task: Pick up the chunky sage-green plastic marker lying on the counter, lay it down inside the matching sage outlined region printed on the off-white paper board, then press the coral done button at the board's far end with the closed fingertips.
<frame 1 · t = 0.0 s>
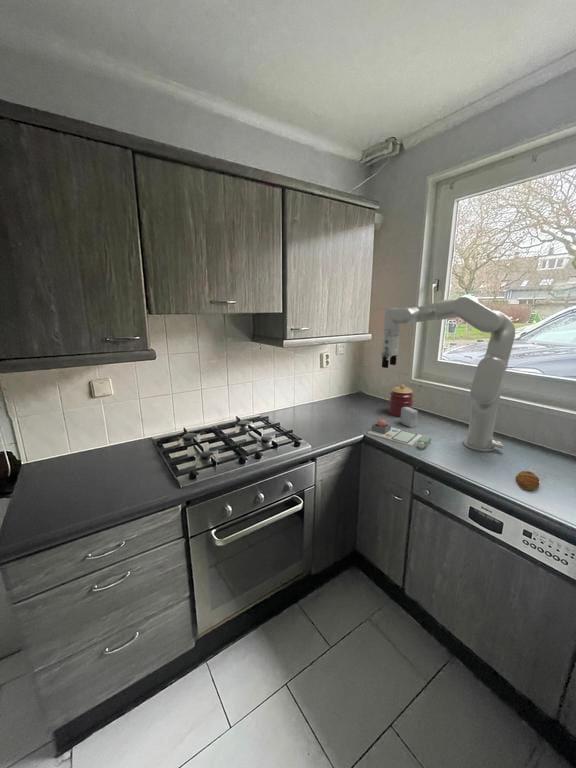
hand: (388, 366, 165), 31 cm above the worktop, fingers open, 9 cm apart
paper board: (394, 435, 156), on the worktop
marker: (424, 445, 145), on the worktop
done button: (381, 423, 160), point 4 cm above the worktop, slide at 0.0 cm
pastry: (527, 485, 114), on the worktop
canister: (400, 413, 186), on the worktop
medicine box: (408, 424, 169), on the worktop
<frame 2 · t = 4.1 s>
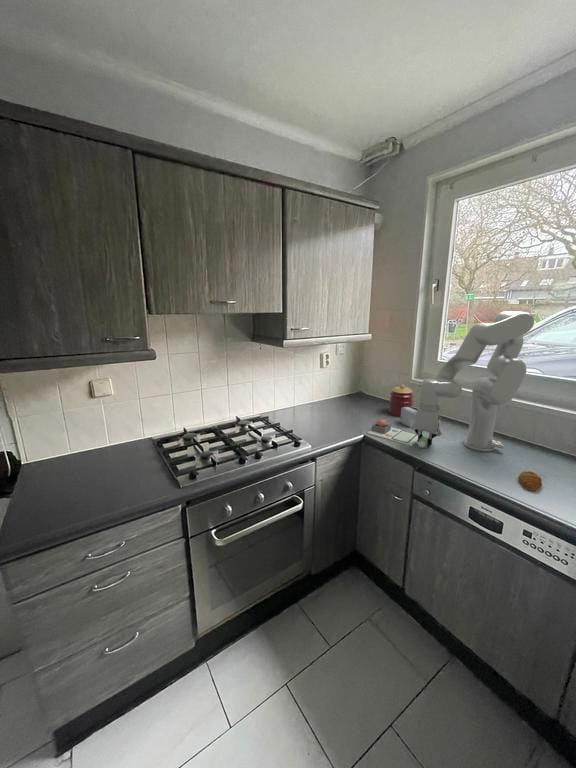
hand: (424, 444, 145), 0 cm above the worktop, fingers closed on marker, 3 cm apart
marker: (424, 444, 146), on the worktop, touching gripper
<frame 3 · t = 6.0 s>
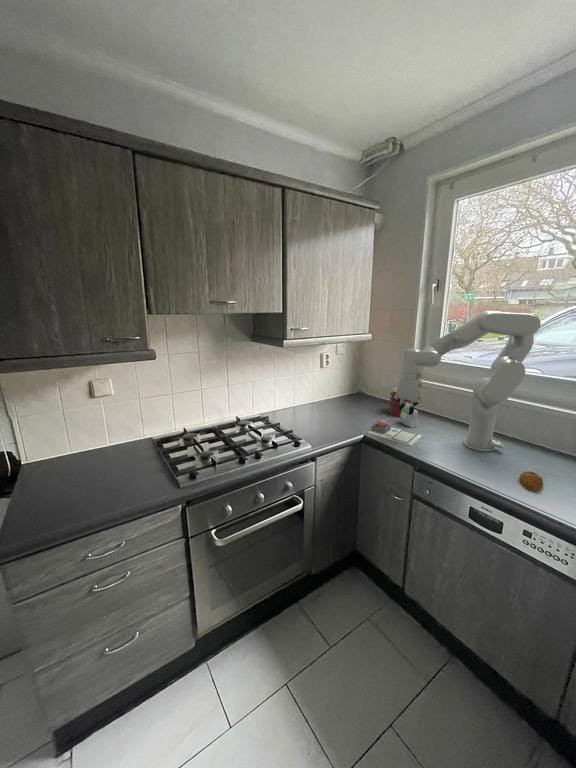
hand: (406, 413, 150), 13 cm above the worktop, fingers closed on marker, 3 cm apart
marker: (407, 413, 151), point 12 cm above the worktop, tilted 17°, touching gripper
when the fingers open (2 cm above the worktop, at t = 8.1 s): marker stays where it is, resting on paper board.
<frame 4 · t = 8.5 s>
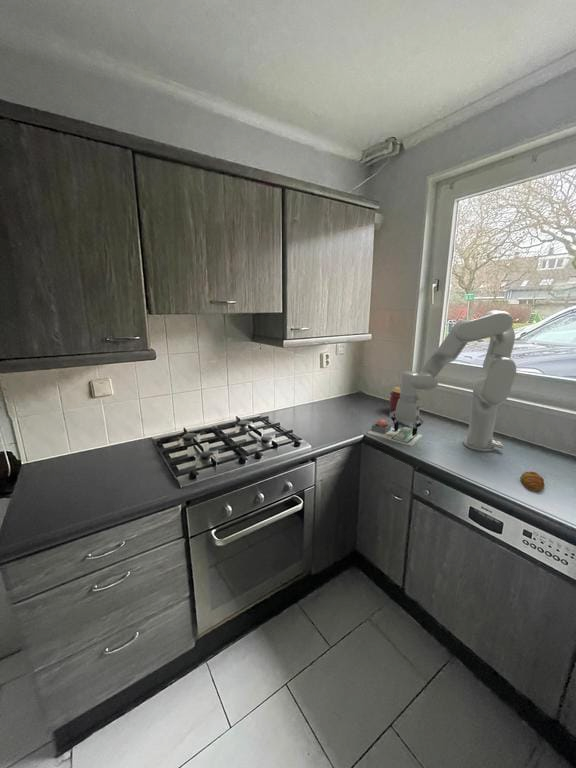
hand: (405, 432, 152), 3 cm above the worktop, fingers open, 8 cm apart
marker: (404, 436, 153), point 1 cm above the worktop, touching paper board
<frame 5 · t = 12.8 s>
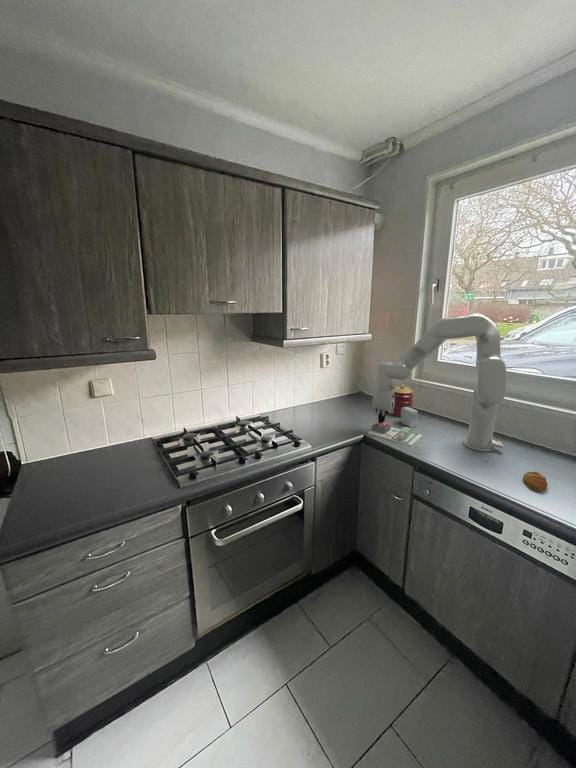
hand: (381, 422, 160), 5 cm above the worktop, fingers closed
done button: (381, 425, 160), point 3 cm above the worktop, slide at 0.9 cm, touching gripper
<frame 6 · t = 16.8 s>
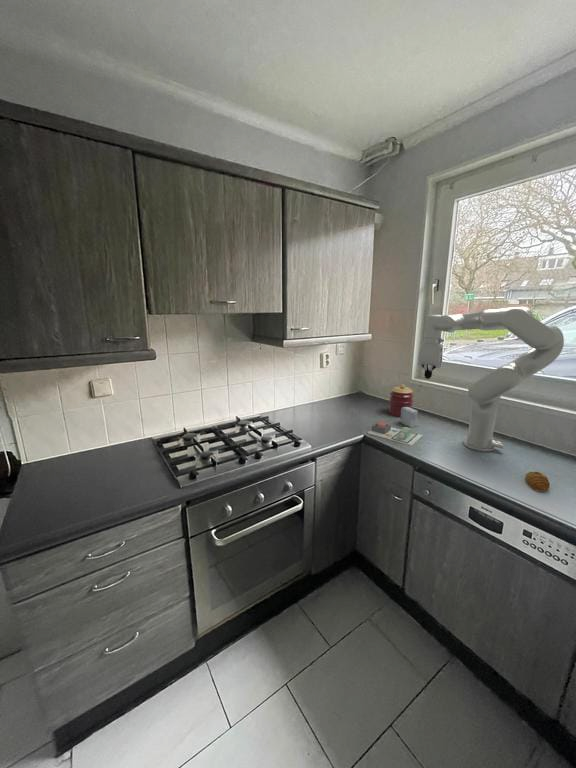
hand: (427, 378, 156), 27 cm above the worktop, fingers closed
done button: (381, 426, 160), point 3 cm above the worktop, slide at 1.7 cm
at the end: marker inside the target area on the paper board (0.3 cm from its centre), point 0.7 cm above the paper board's base; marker tilted 0°; done button slide at 1.7 cm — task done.
